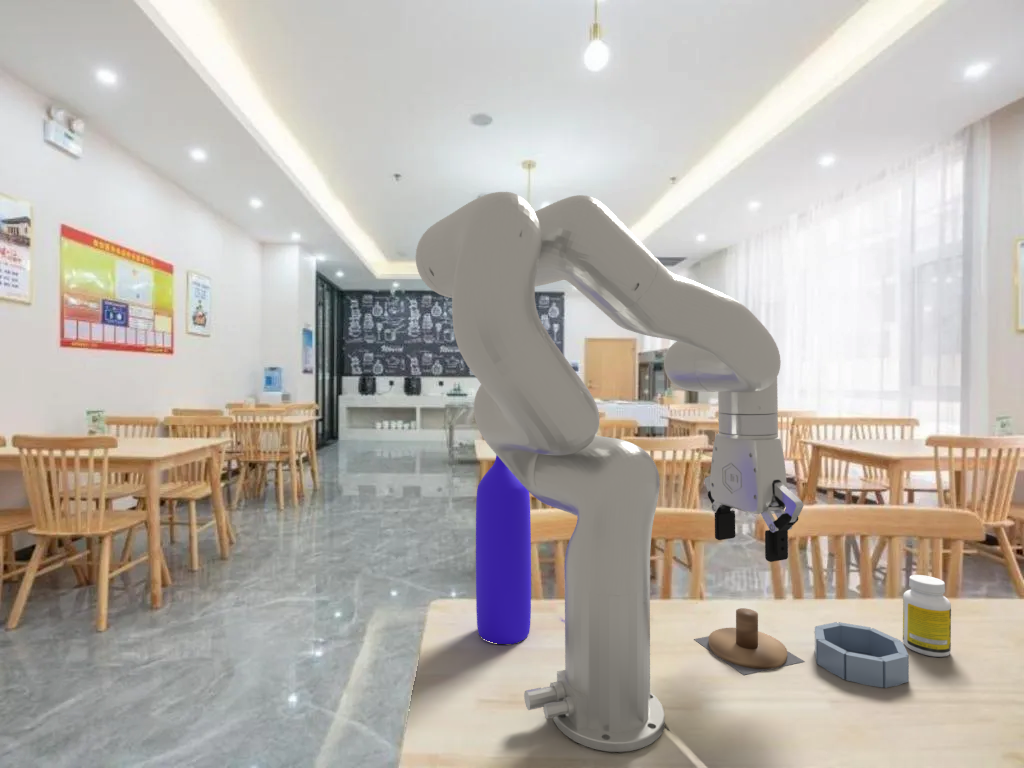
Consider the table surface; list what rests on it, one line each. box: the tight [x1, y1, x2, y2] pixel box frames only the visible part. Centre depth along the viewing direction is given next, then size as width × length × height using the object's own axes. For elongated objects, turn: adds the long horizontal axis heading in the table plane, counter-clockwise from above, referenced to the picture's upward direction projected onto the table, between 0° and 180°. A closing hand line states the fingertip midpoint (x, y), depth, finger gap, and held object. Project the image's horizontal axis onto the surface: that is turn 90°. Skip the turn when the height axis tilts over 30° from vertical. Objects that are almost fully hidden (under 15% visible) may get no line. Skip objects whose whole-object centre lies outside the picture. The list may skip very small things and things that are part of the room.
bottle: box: [475, 454, 532, 645], centre depth 82 cm, size 8×8×30 cm
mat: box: [693, 635, 805, 676], centre depth 75 cm, size 10×10×1 cm
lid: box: [708, 607, 788, 670], centre depth 75 cm, size 10×10×5 cm
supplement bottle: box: [902, 574, 952, 658], centre depth 77 cm, size 5×5×10 cm
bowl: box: [814, 621, 910, 689], centre depth 71 cm, size 10×10×4 cm
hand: (749, 548), depth 76 cm, fingers open, 9 cm apart
